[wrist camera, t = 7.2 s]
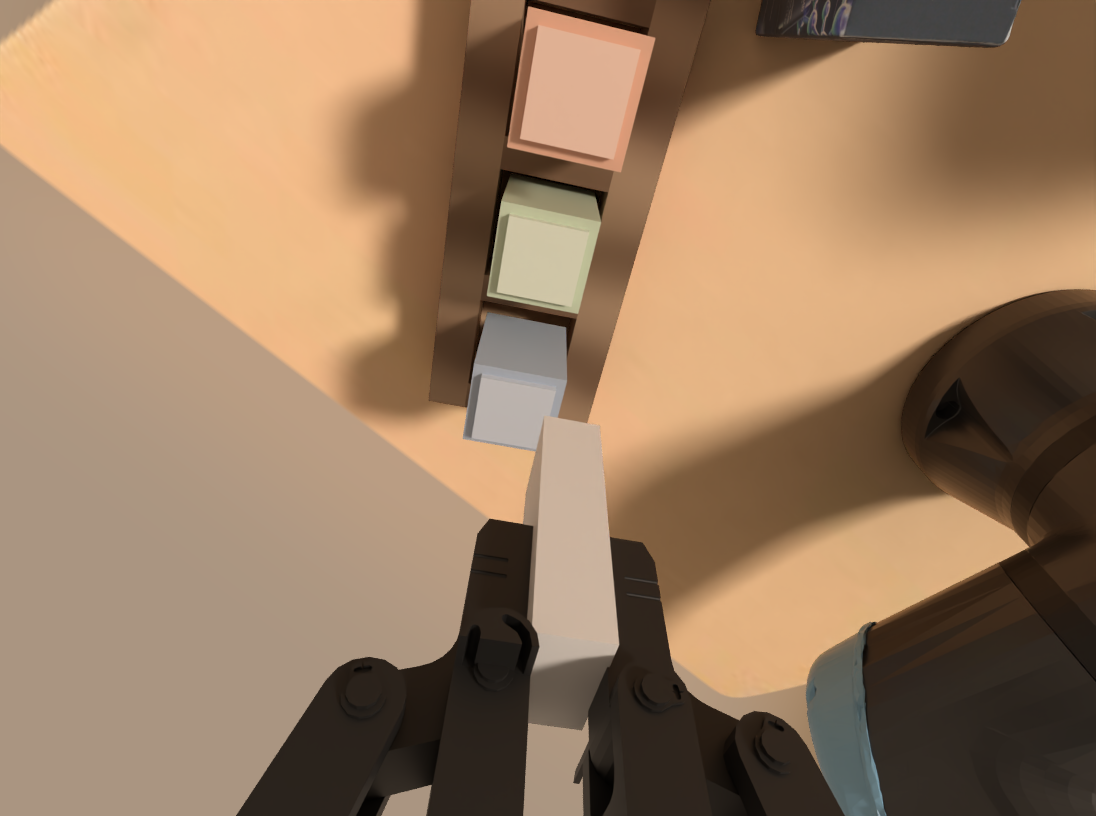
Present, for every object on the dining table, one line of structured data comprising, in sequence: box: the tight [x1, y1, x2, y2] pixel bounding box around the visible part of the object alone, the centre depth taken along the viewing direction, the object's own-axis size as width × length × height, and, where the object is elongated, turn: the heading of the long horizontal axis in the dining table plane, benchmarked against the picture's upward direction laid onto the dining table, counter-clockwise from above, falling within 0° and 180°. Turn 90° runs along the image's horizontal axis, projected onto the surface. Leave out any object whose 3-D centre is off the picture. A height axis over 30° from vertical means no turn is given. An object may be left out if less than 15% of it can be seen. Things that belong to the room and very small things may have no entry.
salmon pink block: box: [507, 6, 655, 172], centre depth 23 cm, size 4×4×6 cm
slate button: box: [463, 312, 567, 451], centre depth 31 cm, size 4×4×6 cm
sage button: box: [487, 174, 601, 314], centre depth 29 cm, size 4×4×6 cm
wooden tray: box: [429, 0, 711, 423], centre depth 31 cm, size 23×10×3 cm, turn 169°
